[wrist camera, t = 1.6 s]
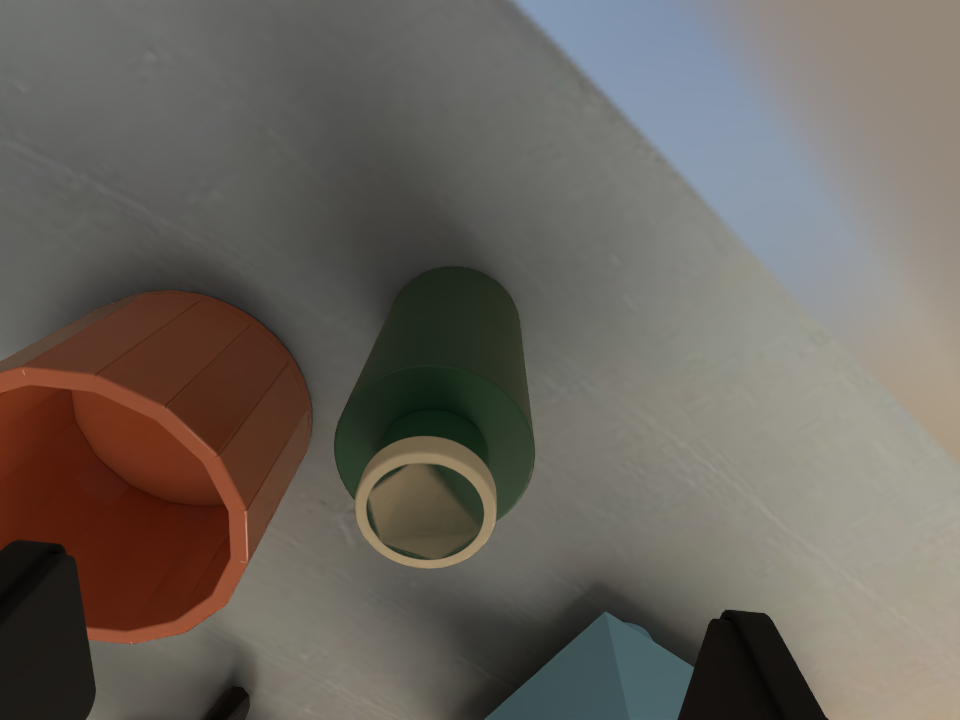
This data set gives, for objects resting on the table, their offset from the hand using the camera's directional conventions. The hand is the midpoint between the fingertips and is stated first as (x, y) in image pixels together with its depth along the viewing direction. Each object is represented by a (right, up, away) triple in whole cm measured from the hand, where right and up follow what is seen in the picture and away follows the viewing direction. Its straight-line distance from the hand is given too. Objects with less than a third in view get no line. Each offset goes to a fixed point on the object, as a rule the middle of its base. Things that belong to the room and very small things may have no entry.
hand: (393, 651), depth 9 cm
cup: (-9, +3, +13) cm, 16 cm away
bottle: (0, +5, +12) cm, 13 cm away
